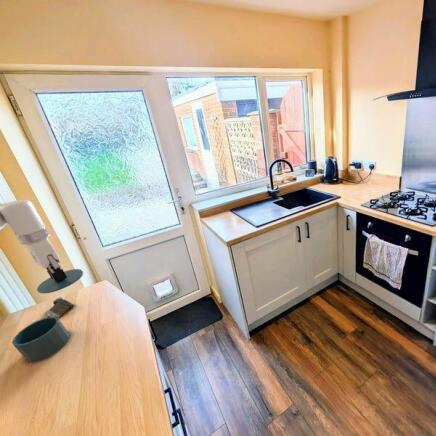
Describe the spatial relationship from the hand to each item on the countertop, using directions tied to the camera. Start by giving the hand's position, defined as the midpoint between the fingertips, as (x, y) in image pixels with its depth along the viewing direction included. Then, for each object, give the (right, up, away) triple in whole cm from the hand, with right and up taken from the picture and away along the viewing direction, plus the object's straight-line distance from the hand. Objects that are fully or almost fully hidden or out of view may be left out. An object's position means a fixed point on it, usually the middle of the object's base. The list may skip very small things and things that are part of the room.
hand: (59, 278), depth 92 cm
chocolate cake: (-16, -19, +17) cm, 30 cm away
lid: (0, -1, +1) cm, 1 cm away
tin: (-4, -25, 0) cm, 26 cm away
